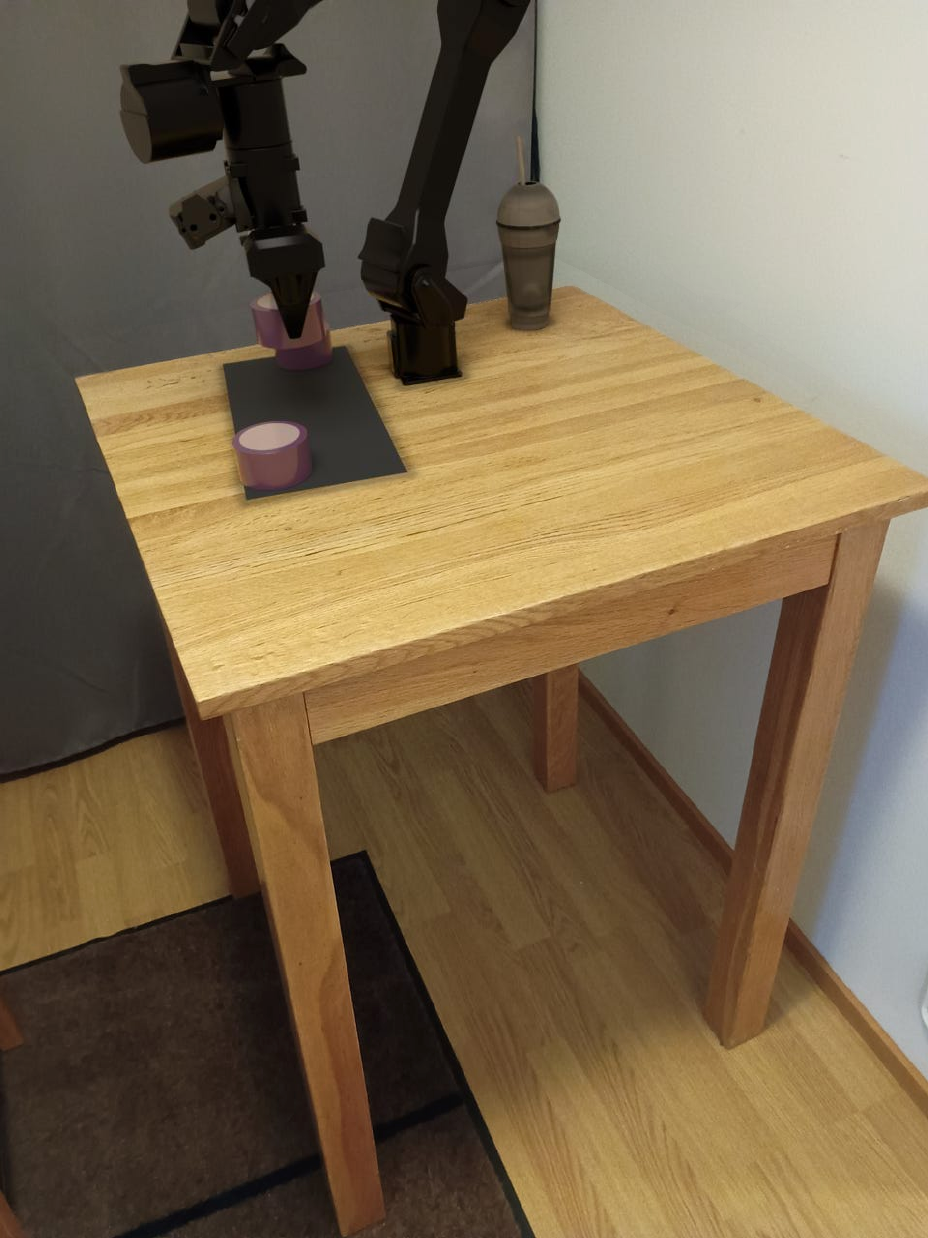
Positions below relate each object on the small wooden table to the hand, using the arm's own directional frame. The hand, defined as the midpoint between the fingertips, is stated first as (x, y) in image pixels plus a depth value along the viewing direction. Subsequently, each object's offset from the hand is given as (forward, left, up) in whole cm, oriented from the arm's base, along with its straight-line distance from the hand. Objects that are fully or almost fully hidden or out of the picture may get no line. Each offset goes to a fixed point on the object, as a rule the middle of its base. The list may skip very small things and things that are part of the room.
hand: (290, 326), depth 87 cm
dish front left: (0, 0, -1) cm, 1 cm away
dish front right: (+4, +12, -9) cm, 16 cm away
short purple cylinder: (-2, -14, -9) cm, 17 cm away
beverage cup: (-29, -16, -9) cm, 34 cm away
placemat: (0, 0, -9) cm, 9 cm away
